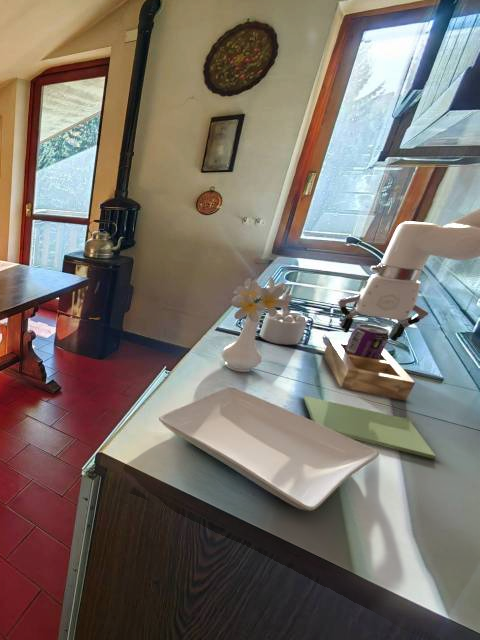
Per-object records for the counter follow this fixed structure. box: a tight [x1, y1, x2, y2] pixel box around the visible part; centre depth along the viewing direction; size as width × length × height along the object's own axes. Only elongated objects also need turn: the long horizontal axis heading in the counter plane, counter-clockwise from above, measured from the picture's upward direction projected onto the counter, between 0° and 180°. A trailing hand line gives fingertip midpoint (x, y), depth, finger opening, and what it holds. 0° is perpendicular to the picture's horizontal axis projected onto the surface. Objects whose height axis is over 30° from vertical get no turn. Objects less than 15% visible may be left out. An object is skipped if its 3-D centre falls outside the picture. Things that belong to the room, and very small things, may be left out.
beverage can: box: [344, 323, 390, 360], centre depth 106 cm, size 7×7×12 cm
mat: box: [303, 395, 437, 460], centre depth 84 cm, size 18×14×1 cm
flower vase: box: [220, 276, 294, 373], centre depth 103 cm, size 13×18×25 cm
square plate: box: [158, 385, 380, 512], centre depth 76 cm, size 27×27×4 cm
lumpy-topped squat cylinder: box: [259, 309, 309, 345], centre depth 127 cm, size 10×13×9 cm
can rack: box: [323, 339, 416, 401], centre depth 104 cm, size 12×22×5 cm, turn 149°
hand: (367, 334), depth 105 cm, fingers open, 9 cm apart
